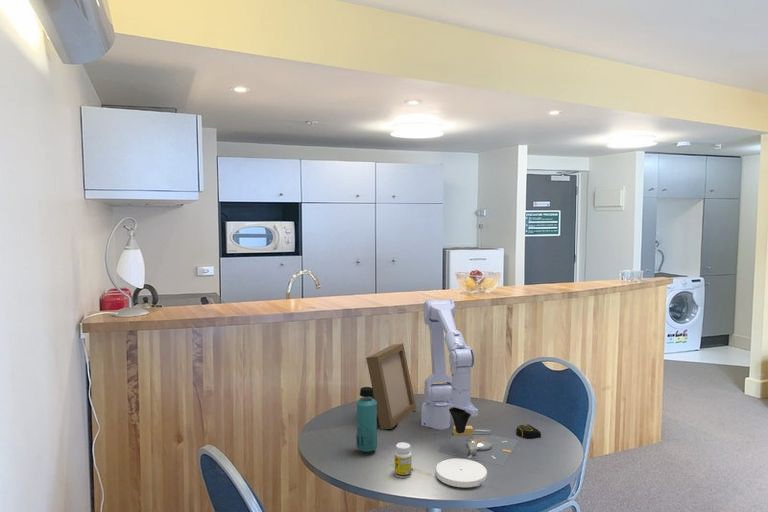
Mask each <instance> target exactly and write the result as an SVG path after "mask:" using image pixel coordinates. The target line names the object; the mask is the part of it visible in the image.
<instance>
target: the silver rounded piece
mask: <svg viewBox="0 0 768 512" xmlns="http://www.w3.org/2000/svg"><path fill="white" fill-rule="evenodd" d="M466 446H467V447H468V454H469V455H476V452H477V451H478V450H479V451H484V450H489V449H491V448H492V441H491V440H490V439H488V438H486V437H481V436H473V437H469V438H467V439H466Z"/></svg>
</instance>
